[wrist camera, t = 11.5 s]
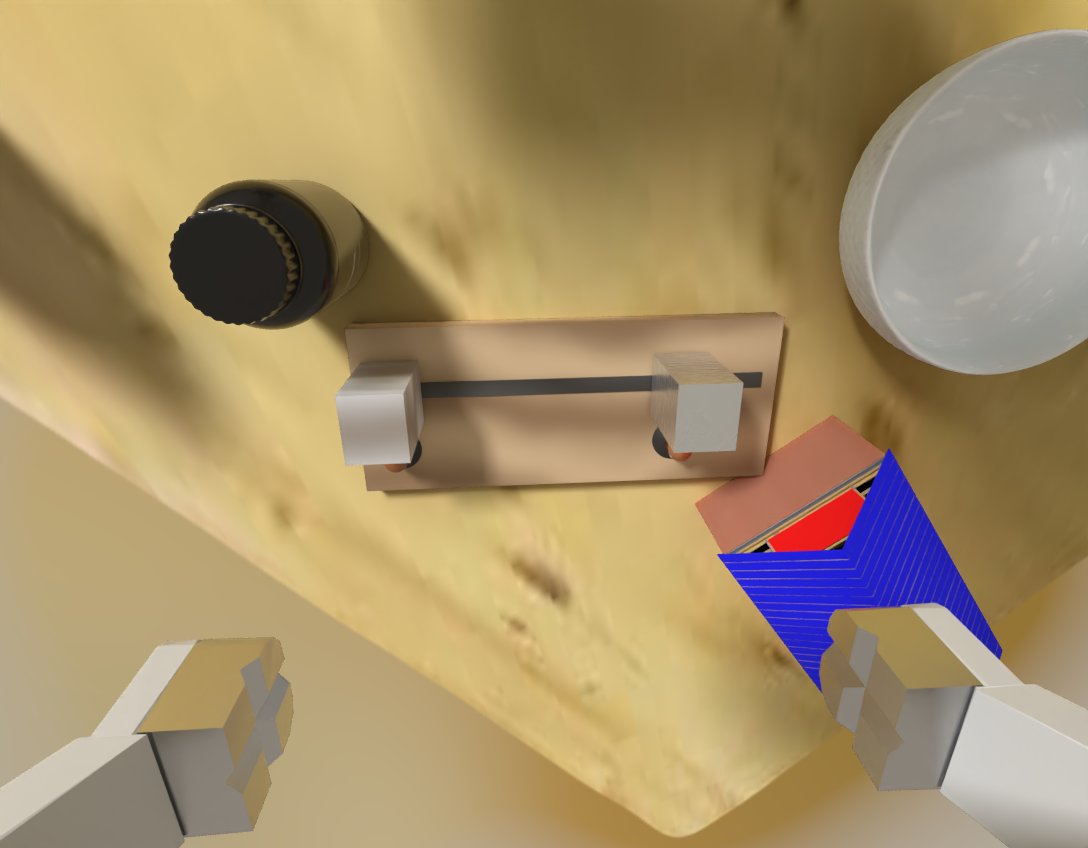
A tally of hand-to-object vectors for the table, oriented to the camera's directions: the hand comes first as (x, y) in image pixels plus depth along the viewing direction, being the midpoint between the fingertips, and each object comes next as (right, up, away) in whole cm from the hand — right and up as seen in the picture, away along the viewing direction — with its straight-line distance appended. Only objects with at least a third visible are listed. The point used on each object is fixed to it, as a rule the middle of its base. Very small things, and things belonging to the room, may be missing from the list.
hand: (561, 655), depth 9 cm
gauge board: (+1, +5, +32) cm, 32 cm away
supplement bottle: (-14, +14, +27) cm, 34 cm away
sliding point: (+8, +5, +30) cm, 32 cm away
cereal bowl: (+24, +17, +29) cm, 41 cm away
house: (+21, -6, +38) cm, 44 cm away
